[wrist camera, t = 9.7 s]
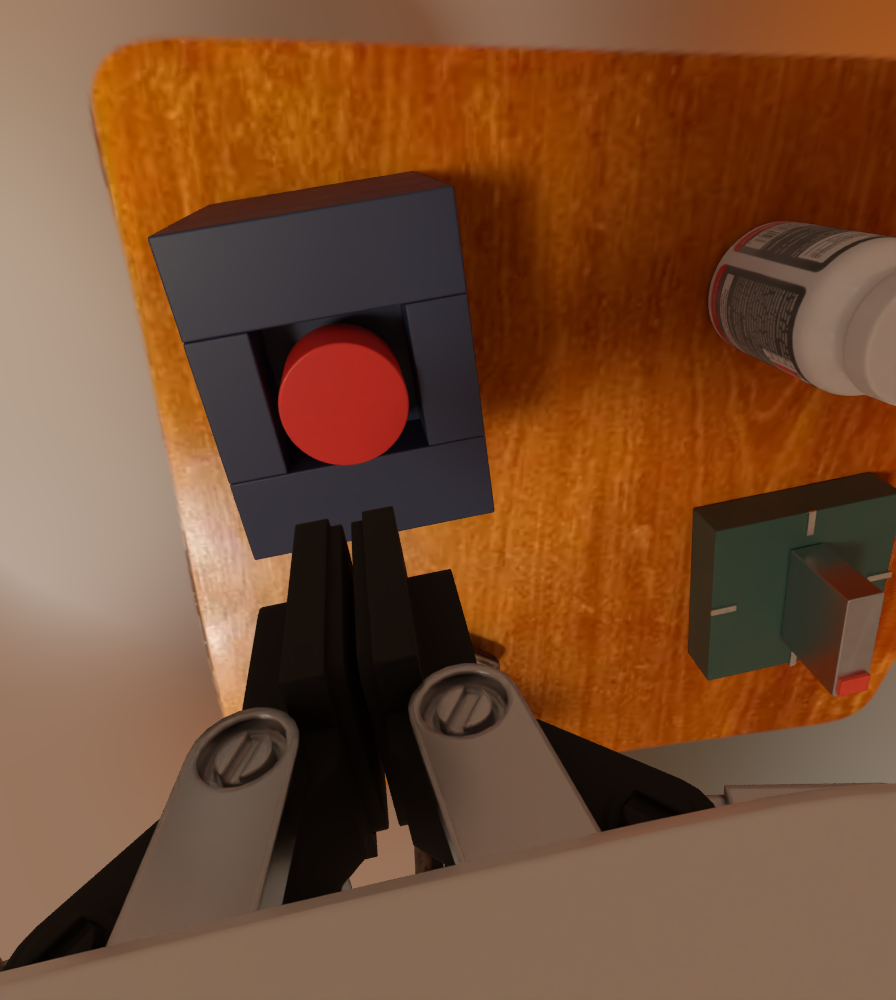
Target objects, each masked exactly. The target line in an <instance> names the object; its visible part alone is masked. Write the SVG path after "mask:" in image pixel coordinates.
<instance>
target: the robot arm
mask: <svg viewBox="0 0 896 1000" xmlns="http://www.w3.org/2000/svg"><path fill="white" fill-rule="evenodd" d="M351 536H352V559H353V565H352V561H351V557H350V553H349V549H348V545H347V541H346V537H345V533H344V529H343V526H342V524H340V525H335V526H331V525H330V522H329V520H328V519H322V520H317V521H312V522H307V523H302V524H297V525H296V526H295V532H294V541H293V551H292V560H291V569H290V579H289V588H288V598H287V602H286V603H281V604H276V605H271V606H266V607H262V608H261V609H260V610H259V614H258V619H257V625H256V631H255V637H254V643H253V649H252V655H251V661H250V667H249V673H248V679H247V685H246V691H245V697H244V703H243V709H242V711H239V712H236V713H234V714H232V715H229V716H227V717H225V718H223V719H221V720H220V721H218V722H217V723H215V724H214V725H213V726H211V727H209V728H208V729H207V730H206V731H205V732H204V733H203V734H202V735H201V736H200V737H199V738H198V739H197V740H196V741H195V743H194V744H193V746H192V748H191V749H190V751H189V753H188V754H187V756H186V758H185V761H184V763H183V765H182V768H181V770H180V772H179V775H178V777H177V780H176V782H175V784H174V787H173V789H172V792H171V794H170V796H169V799H168V801H167V803H166V806H165V808H164V810H163V813H162V815H161V818H160V819H159V820H158V821H157V822H155V823H154V824H153V825H152V826H151V827H150V828H149V829H147V830H146V831H145V832H144V833H143V834H142V835H141V836H140V837H138V838H137V839H136V840H135V841H134V842H133V843H132V844H130V845H129V846H128V847H127V848H126V849H125V850H124V851H122V852H121V853H120V854H119V855H118V856H117V857H116V858H114V859H113V860H112V861H111V862H110V863H109V864H108V865H106V866H105V867H104V868H103V869H102V870H101V871H100V872H98V873H97V874H96V875H95V876H94V877H93V878H92V879H90V881H88V882H87V883H86V884H85V885H84V886H83V887H81V888H80V889H79V890H78V891H77V892H76V893H75V894H73V896H71V897H70V898H69V899H68V900H67V901H65V902H64V903H63V904H62V905H61V906H60V907H59V908H58V909H56V910H55V911H54V912H53V913H52V914H51V915H50V916H48V917H47V918H46V919H45V920H44V921H43V922H42V923H40V925H38V926H37V927H36V928H35V929H34V930H33V931H32V932H31V933H30V934H29V935H28V936H27V937H26V938H25V940H23V942H22V943H21V944H20V945H19V946H18V947H17V948H16V950H15V952H14V953H13V954H12V956H11V957H10V959H8V960H6V961H4V962H3V961H2V959H1V958H0V1000H896V784H887V783H842V784H841V783H839V784H779V785H725V786H724V795H704V794H703V793H702V792H701V791H700V790H699V789H697V788H696V787H694V786H692V785H690V784H689V783H687V782H685V781H683V780H681V779H680V778H677V777H675V776H672V775H670V774H667V773H665V772H663V771H661V770H658V769H656V768H653V767H651V766H648V765H646V764H644V763H641V762H639V761H637V760H634V759H632V758H629V757H627V756H625V755H622V754H620V753H618V752H615V751H613V750H610V749H608V748H606V747H603V746H601V745H598V744H596V743H594V742H591V741H589V740H586V739H584V738H582V737H579V736H577V735H575V734H572V733H570V732H567V731H565V730H563V729H560V728H558V727H555V726H553V725H551V724H548V723H546V722H543V721H541V720H539V719H536V718H535V716H534V715H533V713H532V711H531V710H530V708H529V706H528V704H527V703H526V701H525V699H524V698H523V696H522V694H521V692H520V691H519V689H518V687H517V685H516V684H515V683H514V682H513V681H512V679H511V678H510V677H509V676H508V675H507V674H506V673H504V672H502V671H500V670H499V669H497V668H495V667H492V666H488V665H484V664H478V663H477V660H476V657H475V653H474V650H473V646H472V643H471V639H470V635H469V632H468V628H467V625H466V621H465V617H464V614H463V610H462V607H461V603H460V600H459V596H458V592H457V589H456V585H455V582H454V578H453V575H452V571H451V569H448V570H443V571H438V572H433V573H428V574H423V575H418V576H413V577H408V576H407V572H406V567H405V562H404V557H403V552H402V547H401V543H400V538H399V533H398V528H397V523H396V518H395V514H394V509H393V506H389V507H383V508H378V509H373V510H368V511H363V512H362V520H360V521H355V522H351ZM385 774H386V778H387V782H388V785H389V789H390V793H391V796H392V800H393V804H394V808H395V811H396V815H397V819H398V822H399V825H400V826H404V825H408V826H409V829H410V834H411V837H412V841H413V845H414V846H415V847H417V848H419V849H420V850H422V851H424V852H425V853H427V854H428V855H430V856H432V857H433V858H435V859H437V860H438V861H440V862H441V863H443V865H444V868H440V869H436V870H432V871H427V872H423V873H419V874H415V875H410V876H406V877H402V878H397V879H393V880H388V881H385V882H380V883H376V884H371V885H367V886H363V887H358V888H354V889H352V886H351V883H350V880H349V877H350V876H351V875H352V874H353V873H354V872H355V870H356V869H357V868H358V867H359V865H360V864H361V863H362V862H363V861H364V860H365V859H369V858H373V857H377V856H378V855H377V838H376V832H377V831H382V830H386V829H388V828H389V821H388V807H387V794H386V782H385Z"/></svg>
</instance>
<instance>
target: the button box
mask: <svg viewBox="0 0 896 1000" xmlns="http://www.w3.org/2000/svg"><path fill="white" fill-rule="evenodd" d="M148 241H149V244H150V247H151V250H152V253H153V256H154V259H155V262H156V265H157V268H158V271H159V274H160V277H161V280H162V283H163V286H164V289H165V292H166V295H167V298H168V301H169V304H170V307H171V310H172V313H173V316H174V319H175V322H176V325H177V328H178V331H179V334H180V337H181V340H182V342H183V343H184V349H185V352H186V355H187V358H188V361H189V364H190V367H191V370H192V373H193V376H194V379H195V382H196V385H197V388H198V391H199V394H200V397H201V400H202V403H203V406H204V409H205V412H206V415H207V418H208V421H209V424H210V427H211V430H212V433H213V436H214V439H215V442H216V445H217V448H218V451H219V454H220V457H221V460H222V463H223V466H224V469H225V472H226V475H227V478H228V481H229V483H230V487H231V490H232V493H233V496H234V499H235V502H236V505H237V508H238V511H239V514H240V517H241V520H242V523H243V526H244V529H245V532H246V535H247V538H248V541H249V544H250V547H251V550H252V553H253V556H254V559H255V560H258V559H263V558H268V557H273V556H278V555H283V554H288V553H292V551H293V541H294V532H295V526H296V525H297V524H302V523H307V522H312V521H317V520H322V519H328V520H329V522H330V525H331V526H335V525H340V524H342V526H343V529H344V533H345V537H346V541H347V542H348V541H352V536H351V522H355V521H360V520H362V512H363V511H368V510H373V509H378V508H383V507H389V506H393V509H394V514H395V518H396V523H397V528H398V531H402V530H407V529H412V528H417V527H422V526H427V525H432V524H437V523H442V522H447V521H452V520H457V519H462V518H467V517H472V516H477V515H482V514H487V513H492V512H494V503H493V495H492V487H491V479H490V471H489V463H488V455H487V447H486V439H485V436H484V434H485V431H484V423H483V415H482V407H481V399H480V391H479V383H478V375H477V367H476V359H475V351H474V343H473V335H472V327H471V319H470V312H469V304H468V296H467V294H466V291H467V288H466V280H465V272H464V264H463V256H462V248H461V240H460V232H459V224H458V216H457V208H456V200H455V192H454V187H453V186H451V185H449V184H446V183H443V182H440V181H438V180H436V179H433V178H430V177H427V176H424V175H421V174H419V173H416V172H413V171H410V172H404V173H398V174H392V175H386V176H380V177H374V178H368V179H362V180H356V181H350V182H344V183H338V184H332V185H326V186H320V187H314V188H308V189H302V190H296V191H290V192H284V193H278V194H272V195H266V196H260V197H254V198H248V199H241V200H235V201H229V202H223V203H217V204H211V205H208V206H206V207H204V208H202V209H200V210H198V211H196V212H194V213H192V214H191V215H189V216H187V217H185V218H183V219H181V220H179V221H177V222H175V223H173V224H171V225H169V226H168V227H166V228H164V229H162V230H160V231H159V232H157V233H155V234H153V235H151V236H149V237H148ZM336 323H347V324H353V325H357V326H361V327H364V328H366V329H368V330H370V331H372V332H374V333H375V334H377V335H378V336H379V337H381V338H382V339H383V340H384V341H385V342H386V343H387V344H388V345H389V347H390V348H391V349H392V351H393V352H394V354H395V356H396V358H397V360H398V363H399V365H400V369H401V372H402V375H403V378H404V381H405V385H406V388H407V392H408V399H409V411H408V417H407V421H406V424H405V427H404V429H403V431H402V433H401V435H400V436H399V438H398V439H397V440H396V442H395V443H394V444H393V445H392V446H391V447H390V448H389V449H388V450H387V451H385V452H384V453H383V454H381V455H380V456H378V457H376V458H374V459H372V460H369V461H367V462H364V463H360V464H354V465H335V464H330V463H325V462H322V461H320V460H317V459H315V458H313V457H311V456H309V455H308V454H306V453H305V452H303V451H302V450H301V449H300V448H298V447H297V446H296V445H295V444H294V442H293V441H292V440H291V439H290V437H289V436H288V435H287V433H286V431H285V429H284V427H283V425H282V422H281V419H280V415H279V409H278V397H279V390H280V385H281V380H282V375H283V370H284V366H285V362H286V360H287V357H288V355H289V353H290V351H291V349H292V348H293V347H294V345H295V344H296V343H297V342H298V341H299V340H300V339H301V338H302V337H303V336H305V335H306V334H307V333H309V332H311V331H312V330H314V329H316V328H319V327H321V326H325V325H329V324H336Z"/></svg>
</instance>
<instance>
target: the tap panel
mask: <svg viewBox="0 0 896 1000" xmlns="http://www.w3.org/2000/svg"><path fill="white" fill-rule="evenodd" d="M895 533H896V488H895V487H893V486H892V485H890V484H888V483H887V482H885V481H883V480H882V479H880V478H878V477H877V476H875V475H874V474H872V473H865V474H860V475H855V476H850V477H845V478H840V479H835V480H831V481H826V482H821V483H816V484H811V485H806V486H801V487H797V488H792V489H787V490H782V491H777V492H772V493H767V494H762V495H758V496H753V497H748V498H743V499H738V500H733V501H728V502H723V503H719V504H714V505H709V506H704V507H699V508H694V509H693V530H692V557H691V585H690V612H689V640H688V653H689V654H690V656H691V657H692V659H693V660H694V661H695V663H696V664H697V666H698V667H699V669H700V670H701V671H702V673H703V674H704V676H705V677H706V679H707V680H713V679H717V678H722V677H726V676H731V675H735V674H740V673H744V672H749V671H753V670H758V669H762V668H767V667H771V666H776V665H780V664H785V663H788V665H789V666H794V665H796V661H798V660H800V659H799V658H798V657H797V656H796V655H795V654H794V653H793V652H792V651H791V650H790V648H789V647H788V646H787V645H786V644H785V643H784V642H783V641H782V639H781V637H782V628H783V619H784V610H785V601H786V592H787V583H788V574H789V565H790V556H791V550H794V549H799V548H804V547H808V546H813V545H817V544H822V543H823V544H825V545H826V546H827V547H829V548H830V549H831V550H832V551H833V552H835V553H836V554H837V555H838V556H840V557H841V558H842V559H843V560H845V561H846V562H847V563H848V564H849V565H851V566H852V567H853V568H854V569H856V570H857V571H858V572H859V573H861V574H862V575H863V576H864V577H865V578H867V579H868V580H869V581H870V582H872V583H873V584H874V585H875V586H877V587H878V588H879V589H880V590H881V591H883V592H884V587H885V582H886V578H890V577H891V575H892V571H888V567H889V562H890V557H891V553H892V548H893V543H894V538H895Z"/></svg>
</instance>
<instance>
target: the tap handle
mask: <svg viewBox="0 0 896 1000" xmlns="http://www.w3.org/2000/svg"><path fill="white" fill-rule="evenodd" d="M883 599H884V592H883V591H881V590H880V589H879V588H878V587H877V586H875V585H874V584H873V583H872V582H870V581H869V580H868V579H867V578H865V577H864V576H863V575H862V574H861V573H859V572H858V571H857V570H856V569H854V568H853V567H852V566H851V565H849V564H848V563H847V562H846V561H845V560H843V559H842V558H841V557H840V556H838V555H837V554H836V553H835V552H833V551H832V550H831V549H830V548H829V547H827V546H826V545H825V544H823V543H822V544H817V545H813V546H808V547H804V548H799V549H794V550H791V556H790V565H789V574H788V583H787V592H786V601H785V610H784V619H783V628H782V637H781V639H782V641H783V642H784V643H785V644H786V645H787V646H788V647H789V648H790V650H791V651H792V652H793V653H794V654H795V655H796V656H797V657H798V658H799V659H800V661H801V662H802V663H803V664H804V665H805V666H806V667H807V668H808V669H809V670H810V672H811V673H812V674H813V675H814V676H815V677H816V678H817V679H818V680H819V681H820V683H821V684H822V685H823V686H824V687H825V688H826V689H827V690H828V691H829V692H830V694H831V695H832V696H836V695H838V696H839V697H840V696H844V695H848V694H853V693H857V692H861V691H866V690H868V685H869V680H870V674H869V670H870V665H871V660H872V655H873V650H874V645H875V640H876V635H877V630H878V625H879V620H880V614H881V609H882V604H883Z"/></svg>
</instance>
